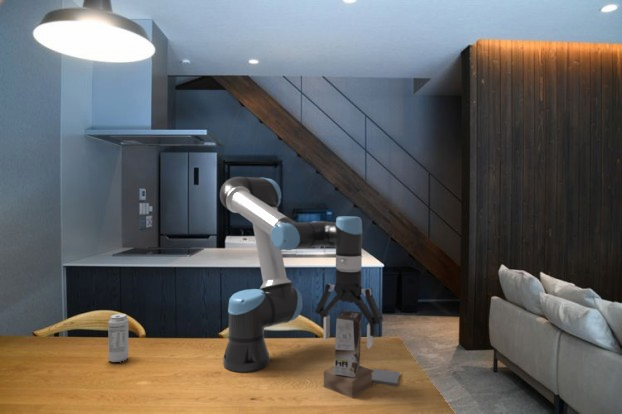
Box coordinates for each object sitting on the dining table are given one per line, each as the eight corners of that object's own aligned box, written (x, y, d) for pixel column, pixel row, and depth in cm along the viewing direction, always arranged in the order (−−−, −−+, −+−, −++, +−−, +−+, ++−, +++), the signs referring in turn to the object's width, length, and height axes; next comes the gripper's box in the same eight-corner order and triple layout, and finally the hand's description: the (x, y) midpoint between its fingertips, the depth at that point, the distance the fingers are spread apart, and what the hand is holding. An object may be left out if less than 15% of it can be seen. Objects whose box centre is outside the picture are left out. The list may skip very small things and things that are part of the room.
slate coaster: (369, 382, 118) (369, 379, 118) (374, 371, 126) (374, 368, 126) (397, 386, 115) (397, 383, 115) (399, 374, 123) (399, 372, 123)
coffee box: (355, 378, 110) (358, 320, 110) (333, 374, 112) (335, 318, 111) (360, 365, 119) (362, 311, 118) (339, 361, 121) (341, 309, 120)
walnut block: (323, 388, 115) (323, 371, 115) (343, 376, 122) (343, 360, 122) (352, 399, 108) (352, 381, 108) (371, 386, 116) (371, 369, 116)
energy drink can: (131, 356, 136) (131, 313, 136) (123, 363, 130) (123, 318, 130) (113, 356, 136) (113, 313, 136) (105, 363, 130) (104, 318, 130)
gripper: (304, 267, 118) (303, 338, 118) (386, 276, 106) (384, 355, 106) (316, 263, 124) (315, 331, 125) (394, 271, 112) (393, 345, 113)
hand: (347, 342), depth 115 cm, fingers open, 13 cm apart
